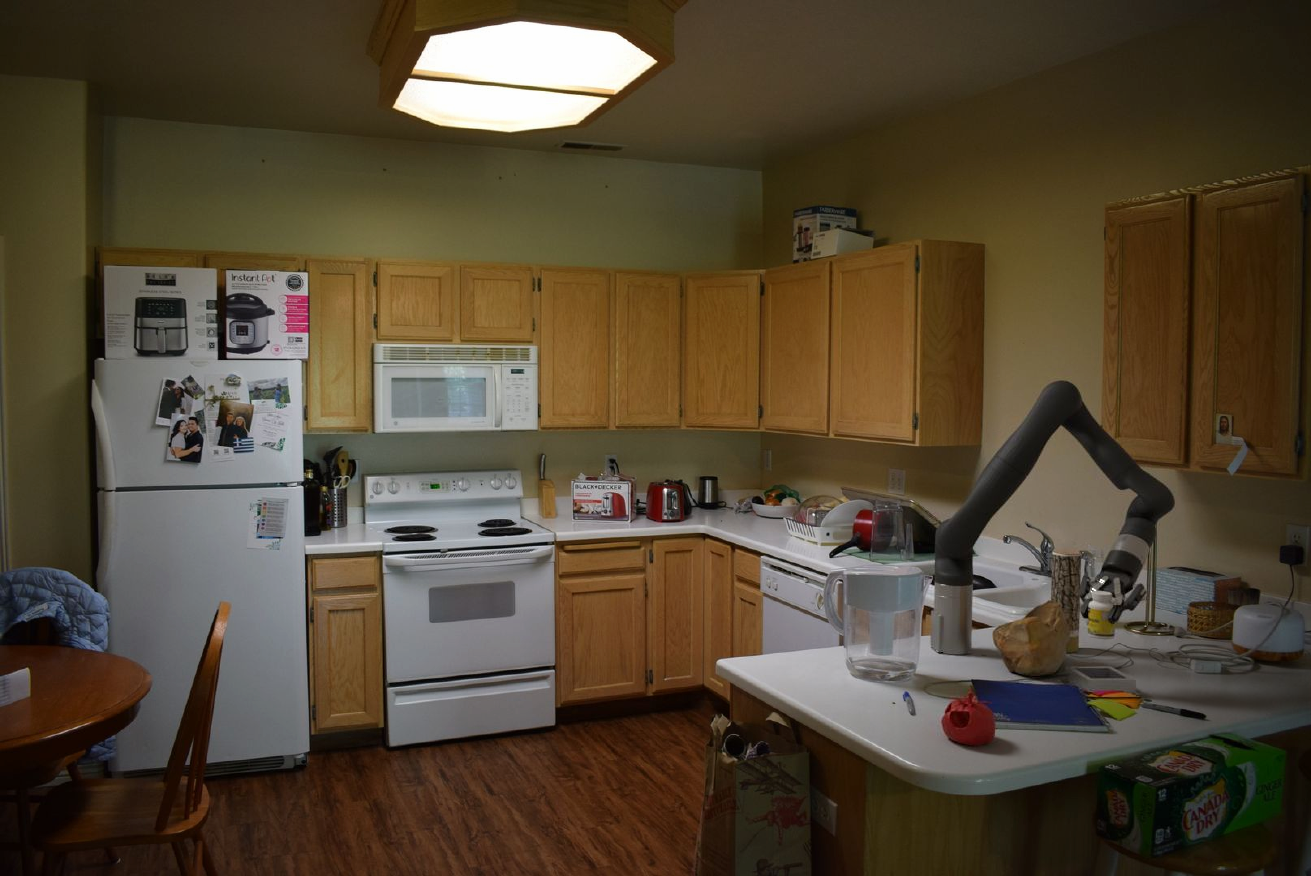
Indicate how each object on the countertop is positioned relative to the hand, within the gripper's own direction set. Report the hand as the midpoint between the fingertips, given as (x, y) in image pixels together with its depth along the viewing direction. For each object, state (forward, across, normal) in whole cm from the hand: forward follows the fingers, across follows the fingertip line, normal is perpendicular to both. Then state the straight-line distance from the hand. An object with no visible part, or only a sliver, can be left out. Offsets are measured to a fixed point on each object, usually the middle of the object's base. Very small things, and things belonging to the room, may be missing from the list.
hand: (1097, 618), depth 212 cm
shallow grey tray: (+10, 0, +12) cm, 16 cm away
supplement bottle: (+2, 0, +4) cm, 5 cm away
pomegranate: (+46, +1, -23) cm, 52 cm away
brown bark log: (-8, -22, +31) cm, 39 cm away
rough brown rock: (+7, -20, +16) cm, 27 cm away
